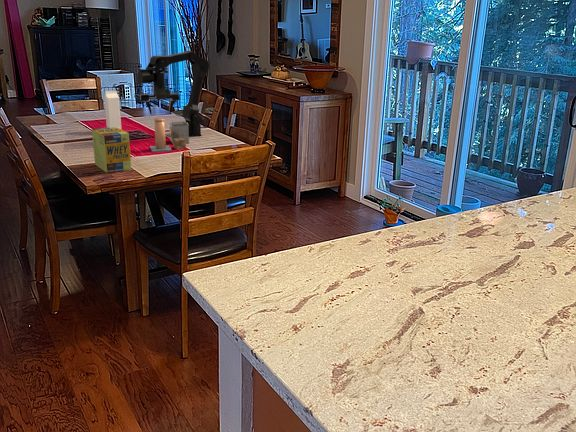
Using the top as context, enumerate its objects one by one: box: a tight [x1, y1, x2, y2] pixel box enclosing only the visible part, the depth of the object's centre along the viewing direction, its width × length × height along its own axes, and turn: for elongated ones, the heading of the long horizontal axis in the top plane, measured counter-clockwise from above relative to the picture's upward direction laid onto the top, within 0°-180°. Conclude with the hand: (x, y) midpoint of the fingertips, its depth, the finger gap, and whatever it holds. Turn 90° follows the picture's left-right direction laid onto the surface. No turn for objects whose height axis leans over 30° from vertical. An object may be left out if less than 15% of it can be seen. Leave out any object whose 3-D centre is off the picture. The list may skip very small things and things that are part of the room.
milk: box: [103, 89, 122, 130], centre depth 291 cm, size 6×6×22 cm
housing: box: [169, 121, 190, 145], centre depth 278 cm, size 8×8×10 cm
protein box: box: [91, 127, 132, 174], centre depth 231 cm, size 10×15×16 cm
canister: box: [153, 117, 167, 149], centre depth 261 cm, size 5×5×14 cm
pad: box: [149, 144, 173, 153], centre depth 264 cm, size 9×9×1 cm
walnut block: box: [172, 138, 187, 151], centre depth 267 cm, size 4×4×4 cm
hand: (160, 114), depth 278 cm, fingers open, 9 cm apart
